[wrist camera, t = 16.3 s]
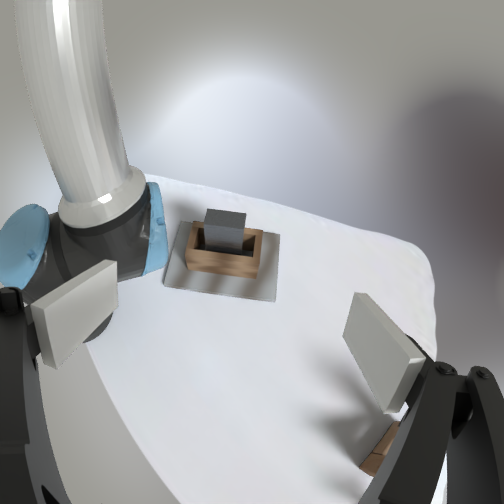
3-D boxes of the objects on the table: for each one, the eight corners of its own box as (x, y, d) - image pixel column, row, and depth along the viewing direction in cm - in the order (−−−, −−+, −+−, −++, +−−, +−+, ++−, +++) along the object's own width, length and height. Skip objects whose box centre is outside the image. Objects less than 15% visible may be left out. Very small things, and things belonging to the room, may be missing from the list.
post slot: (164, 286, 50) (157, 269, 44) (181, 224, 57) (178, 203, 51) (274, 302, 50) (281, 287, 44) (279, 237, 57) (285, 217, 52)
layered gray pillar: (206, 263, 52) (203, 224, 41) (209, 249, 53) (207, 208, 43) (239, 267, 52) (243, 229, 42) (241, 253, 53) (246, 213, 43)
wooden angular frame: (357, 467, 35) (418, 485, 19) (393, 420, 39) (460, 415, 24) (370, 476, 34) (433, 494, 18) (404, 430, 38) (472, 426, 23)
